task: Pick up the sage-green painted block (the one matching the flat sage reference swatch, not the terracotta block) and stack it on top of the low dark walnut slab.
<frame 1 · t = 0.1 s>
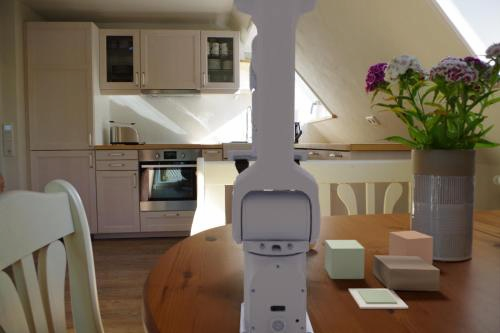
hand: (267, 199, 73), 10 cm above the table, fingers open, 7 cm apart
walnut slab: (403, 282, 58), on the table, touching reference swatch
reference swatch: (376, 300, 52), on the table
terracotta block: (409, 262, 68), on the table
figurine: (300, 249, 76), on the table, touching gripper
sage block: (343, 275, 62), on the table
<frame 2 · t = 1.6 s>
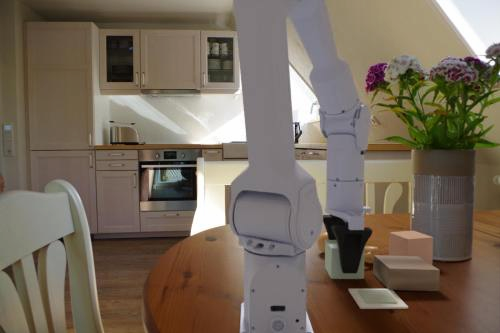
hand: (343, 264, 62), 2 cm above the table, fingers open, 7 cm apart
figurine: (320, 232, 74), point 4 cm above the table, touching gripper
everything else where it was.
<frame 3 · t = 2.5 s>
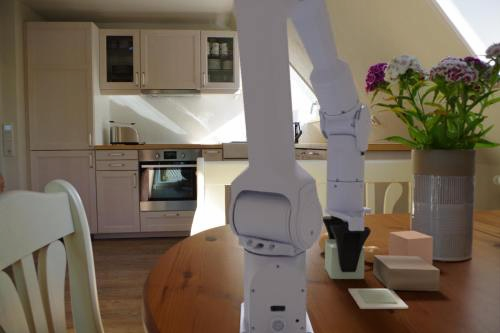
hand: (343, 265, 62), 1 cm above the table, fingers closed on sage block, 5 cm apart
figurine: (323, 232, 74), point 4 cm above the table
sage block: (343, 274, 62), on the table, touching gripper
everything else where it was.
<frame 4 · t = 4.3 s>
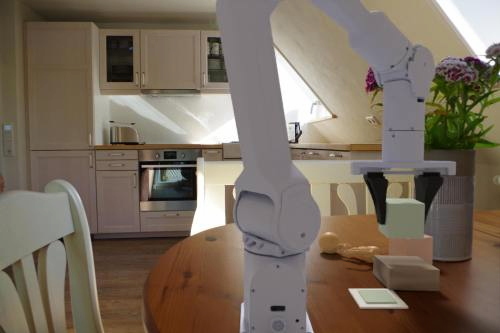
hand: (400, 223, 58), 9 cm above the table, fingers closed on sage block, 5 cm apart
sage block: (400, 234, 58), point 7 cm above the table, touching gripper
everything else where it was.
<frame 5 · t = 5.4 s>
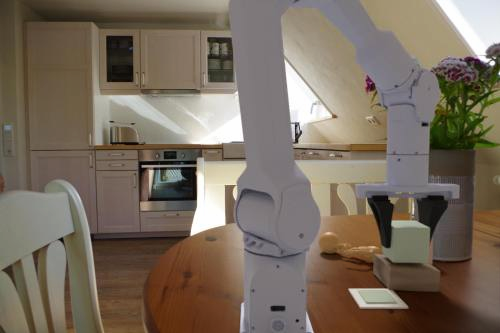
hand: (404, 246, 58), 6 cm above the table, fingers closed on sage block, 5 cm apart
sage block: (404, 257, 58), point 4 cm above the table, touching gripper
everything else where it was.
when the fingers open (6 cm above the table, at t = 5.9 s): sage block stays where it is, resting on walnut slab.
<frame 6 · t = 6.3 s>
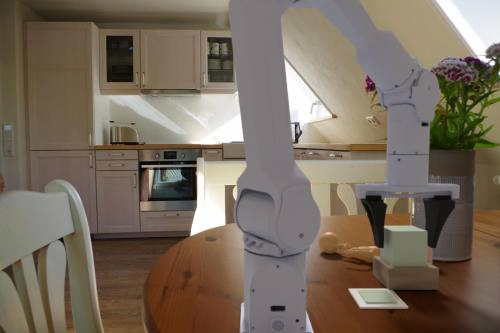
hand: (404, 246, 58), 6 cm above the table, fingers open, 7 cm apart
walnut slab: (403, 282, 58), on the table, touching reference swatch, sage block
sage block: (402, 261, 58), point 3 cm above the table, touching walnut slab
everything else where it was.
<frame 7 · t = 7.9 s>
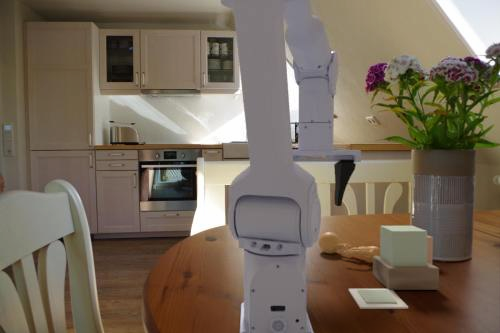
hand: (315, 205, 65), 10 cm above the table, fingers open, 7 cm apart
nothing on the table moved.
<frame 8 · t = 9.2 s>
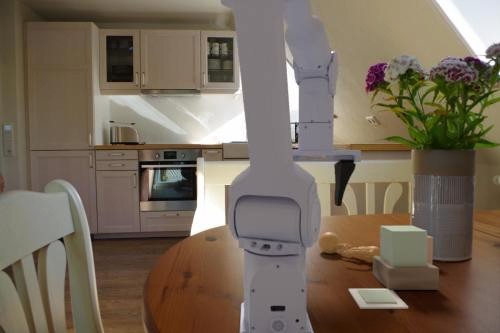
hand: (315, 205, 65), 10 cm above the table, fingers open, 7 cm apart
nothing on the table moved.
at the end: sage block 0.3 cm off-centre on the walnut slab, point 3.0 cm above the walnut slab's base; sage block tilted 4°; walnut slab moved 0.2 cm from its start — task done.
